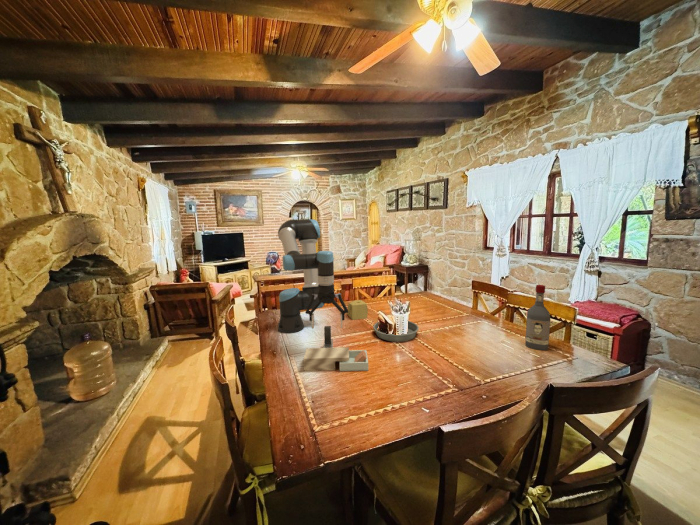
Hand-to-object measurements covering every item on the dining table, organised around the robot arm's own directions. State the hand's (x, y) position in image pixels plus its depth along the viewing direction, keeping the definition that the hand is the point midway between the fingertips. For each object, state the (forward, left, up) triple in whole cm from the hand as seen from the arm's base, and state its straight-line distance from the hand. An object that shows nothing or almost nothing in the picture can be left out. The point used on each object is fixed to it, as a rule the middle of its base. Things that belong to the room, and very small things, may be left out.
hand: (327, 327), depth 139 cm
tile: (+14, -15, -8) cm, 22 cm away
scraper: (0, 0, -12) cm, 12 cm away
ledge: (+1, -14, -12) cm, 19 cm away
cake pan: (+36, +19, -12) cm, 42 cm away
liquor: (+101, -1, -12) cm, 102 cm away
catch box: (+12, -14, -12) cm, 22 cm away
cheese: (+16, +49, -12) cm, 53 cm away
